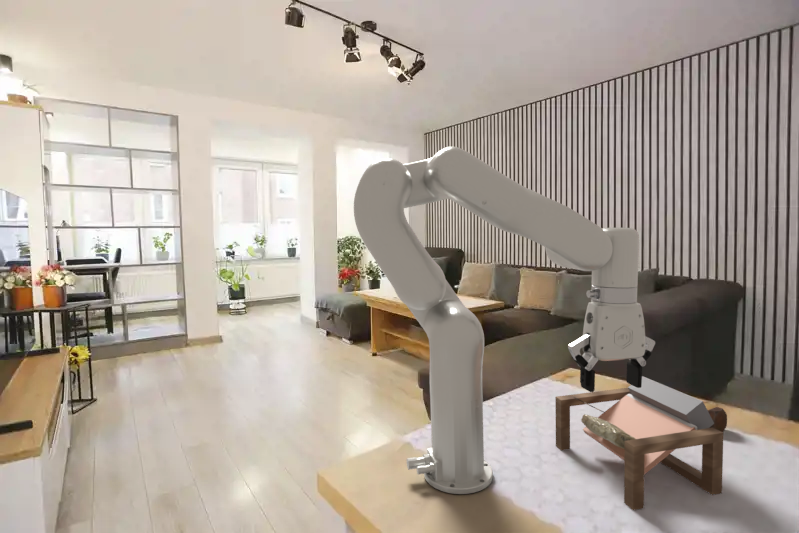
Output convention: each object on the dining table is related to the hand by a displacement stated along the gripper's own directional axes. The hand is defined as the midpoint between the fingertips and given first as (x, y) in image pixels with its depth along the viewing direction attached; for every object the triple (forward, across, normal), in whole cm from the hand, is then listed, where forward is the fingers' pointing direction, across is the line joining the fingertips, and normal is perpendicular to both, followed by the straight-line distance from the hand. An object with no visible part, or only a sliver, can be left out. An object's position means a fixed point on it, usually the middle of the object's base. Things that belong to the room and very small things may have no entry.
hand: (610, 387), depth 82 cm
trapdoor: (+9, +8, -1) cm, 12 cm away
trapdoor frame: (+15, +4, -1) cm, 16 cm away
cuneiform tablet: (+9, +2, 0) cm, 9 cm away
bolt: (+15, +30, +13) cm, 36 cm away
